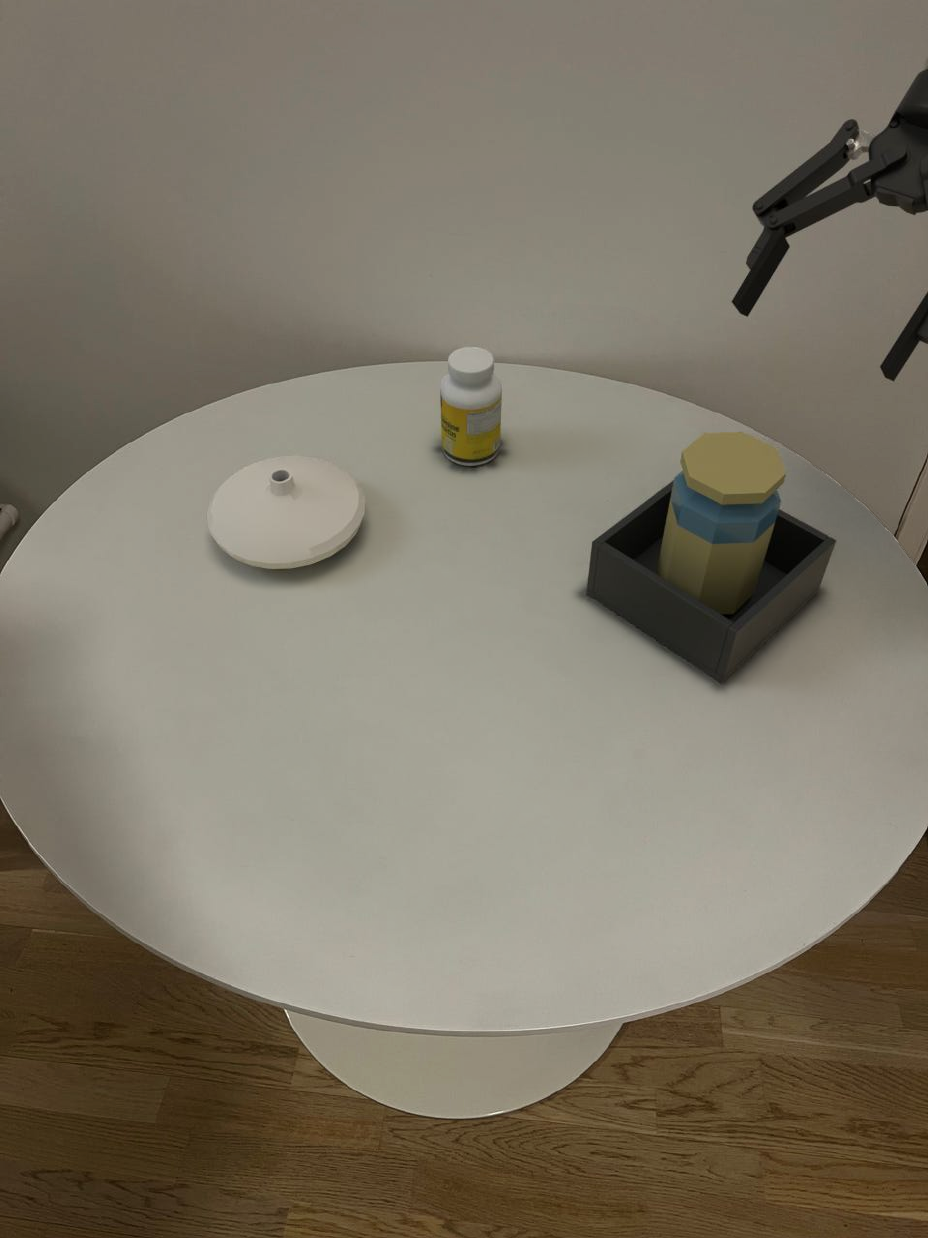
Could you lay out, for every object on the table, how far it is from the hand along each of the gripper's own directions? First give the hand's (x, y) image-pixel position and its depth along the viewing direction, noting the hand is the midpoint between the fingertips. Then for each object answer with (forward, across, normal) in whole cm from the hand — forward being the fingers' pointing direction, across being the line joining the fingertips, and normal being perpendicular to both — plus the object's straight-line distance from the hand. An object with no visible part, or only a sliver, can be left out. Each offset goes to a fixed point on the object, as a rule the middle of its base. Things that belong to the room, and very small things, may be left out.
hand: (809, 340), depth 81 cm
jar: (+22, 0, -12) cm, 25 cm away
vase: (+38, +35, +4) cm, 52 cm away
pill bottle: (+22, +31, -12) cm, 40 cm away
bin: (+22, 0, -12) cm, 25 cm away
